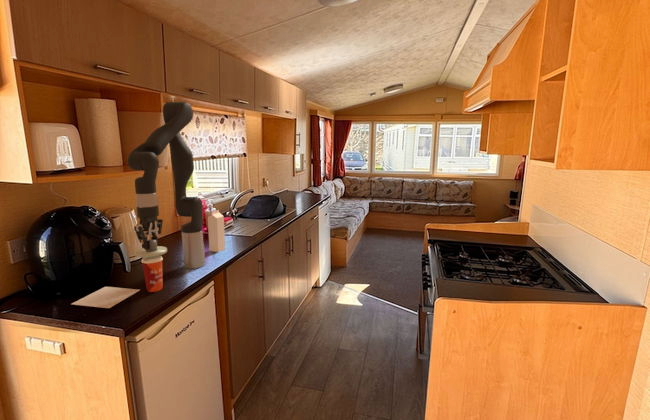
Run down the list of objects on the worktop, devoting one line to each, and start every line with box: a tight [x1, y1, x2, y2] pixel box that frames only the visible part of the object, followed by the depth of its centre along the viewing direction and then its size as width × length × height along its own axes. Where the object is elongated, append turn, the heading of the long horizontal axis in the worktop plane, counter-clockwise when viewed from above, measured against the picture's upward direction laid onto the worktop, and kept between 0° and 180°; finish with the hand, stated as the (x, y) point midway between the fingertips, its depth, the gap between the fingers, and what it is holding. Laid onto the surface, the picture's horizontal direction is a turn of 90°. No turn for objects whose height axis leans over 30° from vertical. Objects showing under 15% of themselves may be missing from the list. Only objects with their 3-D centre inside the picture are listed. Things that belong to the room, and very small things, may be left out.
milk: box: [207, 209, 226, 253], centre depth 191 cm, size 6×6×22 cm
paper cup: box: [140, 255, 164, 293], centre depth 139 cm, size 8×8×14 cm
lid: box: [135, 238, 168, 258], centre depth 137 cm, size 11×11×5 cm
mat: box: [71, 286, 141, 309], centre depth 133 cm, size 16×16×1 cm
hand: (151, 247), depth 137 cm, fingers closed on lid, 4 cm apart
